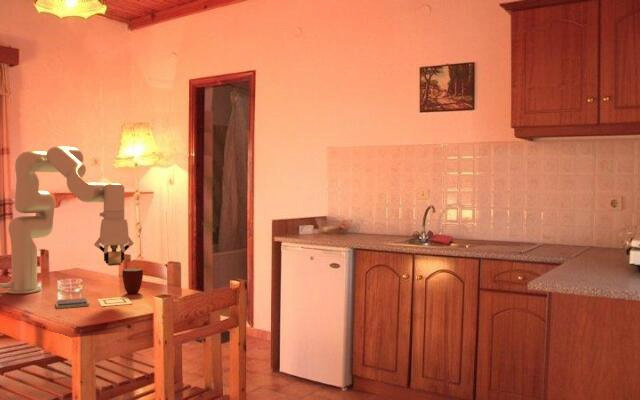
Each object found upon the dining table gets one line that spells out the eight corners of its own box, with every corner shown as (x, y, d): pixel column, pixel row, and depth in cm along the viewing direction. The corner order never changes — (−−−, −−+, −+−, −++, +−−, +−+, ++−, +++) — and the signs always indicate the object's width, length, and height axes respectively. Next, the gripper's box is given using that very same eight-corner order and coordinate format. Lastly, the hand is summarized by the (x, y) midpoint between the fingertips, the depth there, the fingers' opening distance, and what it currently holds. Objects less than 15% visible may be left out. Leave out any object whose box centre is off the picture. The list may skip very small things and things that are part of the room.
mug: (119, 291, 238) (119, 268, 238) (138, 290, 242) (138, 267, 242) (125, 296, 229) (125, 271, 229) (145, 294, 233) (145, 270, 233)
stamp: (108, 265, 214) (108, 243, 214) (107, 264, 218) (107, 242, 218) (121, 265, 216) (121, 242, 216) (119, 263, 220) (119, 241, 220)
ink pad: (56, 308, 205) (56, 304, 205) (55, 303, 213) (55, 300, 213) (89, 305, 210) (89, 301, 210) (86, 301, 218) (86, 297, 218)
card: (101, 306, 208) (101, 305, 208) (97, 299, 221) (97, 298, 221) (132, 304, 214) (132, 303, 214) (126, 297, 226) (126, 296, 226)
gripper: (91, 216, 209) (91, 265, 209) (138, 215, 217) (138, 262, 217) (89, 215, 216) (89, 262, 216) (135, 214, 223) (135, 260, 224)
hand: (114, 262), depth 217 cm, fingers closed on stamp, 4 cm apart
